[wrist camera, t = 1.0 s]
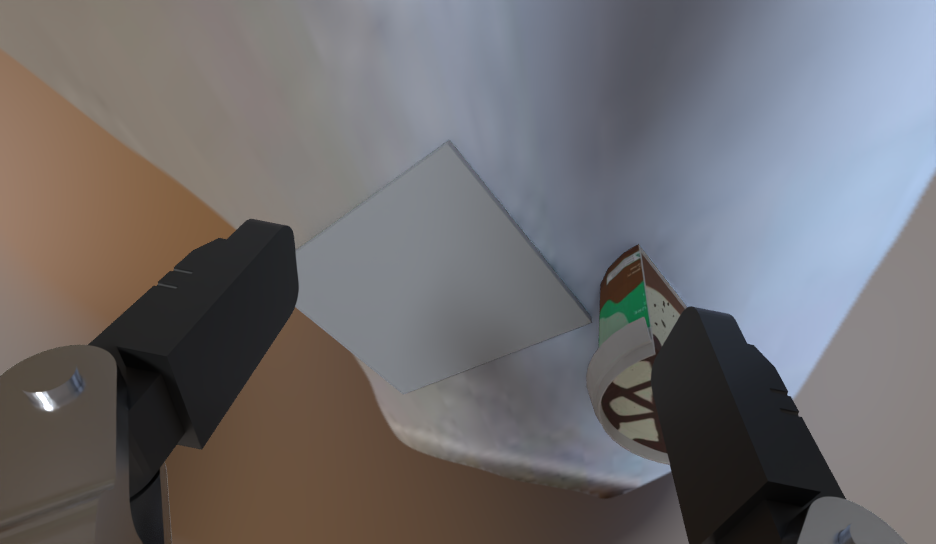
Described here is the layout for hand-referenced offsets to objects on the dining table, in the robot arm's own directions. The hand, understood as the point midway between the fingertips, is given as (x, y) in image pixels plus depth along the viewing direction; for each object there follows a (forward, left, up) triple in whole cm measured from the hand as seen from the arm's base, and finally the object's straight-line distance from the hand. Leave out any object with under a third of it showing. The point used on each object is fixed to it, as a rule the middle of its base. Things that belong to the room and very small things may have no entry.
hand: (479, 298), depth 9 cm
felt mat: (+16, +10, -19) cm, 27 cm away
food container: (+3, +19, -19) cm, 27 cm away
